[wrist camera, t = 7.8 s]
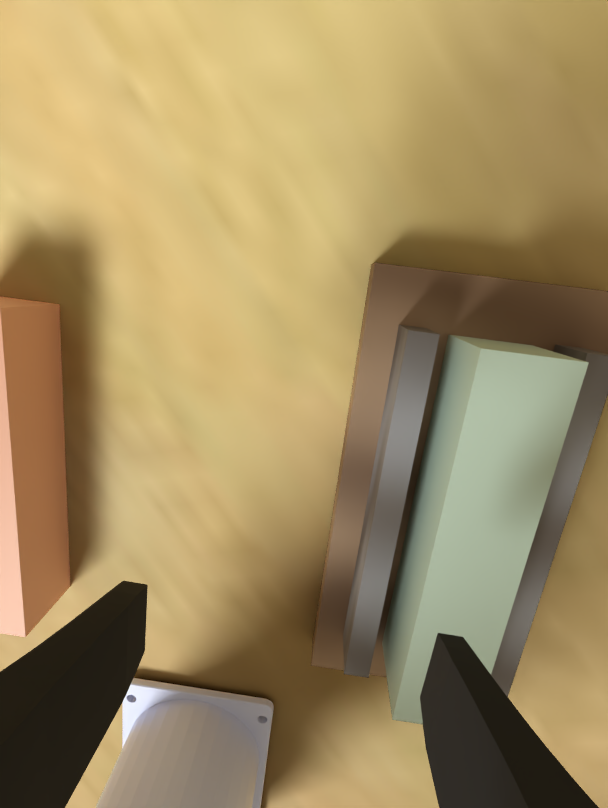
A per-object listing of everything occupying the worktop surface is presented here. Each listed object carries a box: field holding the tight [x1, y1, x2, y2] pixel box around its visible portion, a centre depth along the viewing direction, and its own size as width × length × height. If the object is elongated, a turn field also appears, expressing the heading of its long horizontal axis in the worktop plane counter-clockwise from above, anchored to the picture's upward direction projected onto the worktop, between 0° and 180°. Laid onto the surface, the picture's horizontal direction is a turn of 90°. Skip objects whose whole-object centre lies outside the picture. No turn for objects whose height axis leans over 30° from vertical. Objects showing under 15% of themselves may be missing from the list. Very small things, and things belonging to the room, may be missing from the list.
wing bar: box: [0, 296, 70, 637], centre depth 18 cm, size 14×3×4 cm, turn 173°
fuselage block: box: [382, 335, 589, 724], centre depth 15 cm, size 14×3×4 cm, turn 173°
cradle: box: [311, 263, 608, 697], centre depth 17 cm, size 18×9×4 cm, turn 173°
